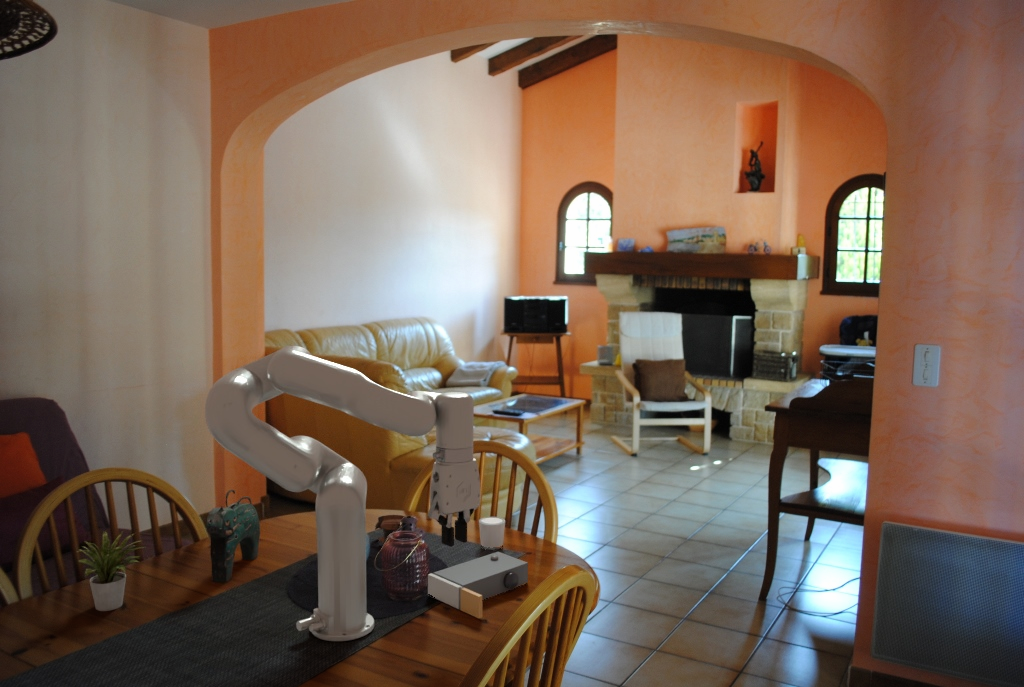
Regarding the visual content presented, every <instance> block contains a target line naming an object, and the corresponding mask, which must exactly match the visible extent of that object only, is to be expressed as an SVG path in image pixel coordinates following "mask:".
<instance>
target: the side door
mask: <svg viewBox="0 0 1024 687" xmlns="http://www.w3.org/2000/svg"><path fill="white" fill-rule="evenodd" d="M428 594H430V595H432V596H433V597H432V598H434V597H435V598H434V599H436V600H438V601H440V602H443V603H445V604H446V605H449V606H451V607H453V608H455V609H457V610H458V611H462V612H463V613H466V614H468V615H471V616H472V617H474V618H477V619H481V618H483V601H482V595H480V594H478V593H476V592H473V591H471V590H469V589H467V588H464V587H462V586H460V585H457V584H455V583H453V582H450V581H448V580H446V579H444V578H441V577H439V576H437V575H434V573H432V572H431V573H429V574H427V595H428Z"/></svg>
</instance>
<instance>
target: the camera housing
mask: <svg viewBox="0 0 1024 687" xmlns="http://www.w3.org/2000/svg"><path fill="white" fill-rule="evenodd" d="M433 574H434V575H437V576H439V577H441V578H444V579H446V580H448V581H450V582H453V583H455V584H457V585H460V586H462V587H464V588H467V589H469V590H471V591H473V592H476V593H478V594H480V595H482V600H483V599H485V600H487V599H486V598H488V599H490V598H489V597H491V596H494V595H496V594H499V595H501V594H500V593H502V592H504V593H506V592H505V591H507V592H509V591H508V590H510V589H511V590H510V591H512V590H515V589H516V588H515V587H517V586H519V585H522V584H524V583H527V582H529V562H527V561H524V560H522V559H519V558H517V557H513V556H511V555H509V554H506V553H503V552H501V551H496V552H492V553H490V554H487V555H484V556H481V557H477V558H473V559H471V560H468V561H465V562H461V563H459V564H456V565H452V566H449V567H446V568H444V569H441V570H438V571H434V572H433ZM514 588H515V589H514ZM502 594H503V593H502ZM496 596H497V595H496ZM494 597H495V596H494ZM491 598H492V597H491ZM483 601H484V600H483Z"/></svg>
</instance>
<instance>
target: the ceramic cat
mask: <svg viewBox="0 0 1024 687" xmlns="http://www.w3.org/2000/svg"><path fill="white" fill-rule="evenodd" d="M230 493H233V495H235V494H236V490H235V489H230V490H228V491H227V492H226V494H225V505H226V507H223V506H221V507H214V508H212V509H211V510H210V512H209V513H208V515H207V519H206V531H207V533H208V534H209V536H210V549H209V550H210V560H211V562H210V563H211V578H212V582H214V583H221V584H222V583H223V584H224V583H225V584H226V583H228V582H229V581H231V579H232V576H233V567H234V559H235V554H236V550H237V548H238V546H240V553H241V560H242V561H254V560H257V558H258V556H259V546H260V536H261V526H260V525H261V524H260V523H261V522H260V518H259V515H258V511H257V509H256V508H255V506H254V505H253V504H252V500H251V498H250V497H249V496H243V497H241V498H240V499H238V501H237V502H234V503H232V504H231V503H230V505H228V498H229V494H230ZM246 499H247V500H248V502H249V503H248V502H241V501H242V500H246Z"/></svg>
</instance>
